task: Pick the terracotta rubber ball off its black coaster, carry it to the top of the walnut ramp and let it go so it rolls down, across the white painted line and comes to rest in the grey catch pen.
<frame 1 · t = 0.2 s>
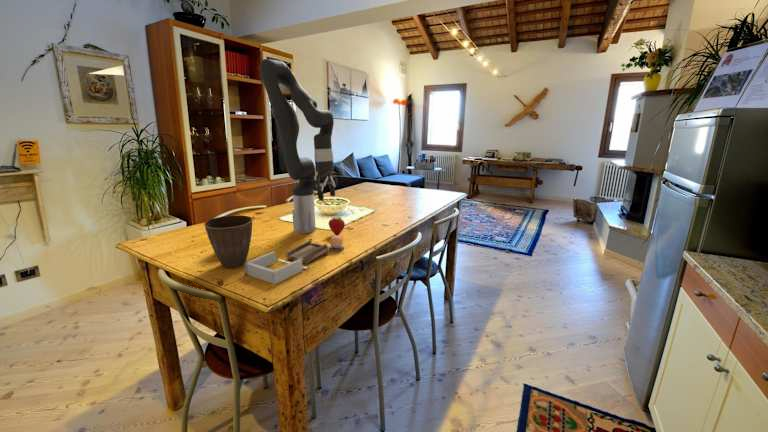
hand: (327, 198, 144), 17 cm above the table, tool pointing down, fingers open, 8 cm apart
strawberry: (337, 235, 150), on the table
walnut ramp: (307, 256, 126), on the table
rubber ball: (336, 241, 133), point 3 cm above the table, touching coaster
coaster: (336, 248, 134), on the table
catch pen: (274, 272, 113), on the table
painted line: (292, 263, 120), on the table
plant pot: (234, 265, 119), on the table
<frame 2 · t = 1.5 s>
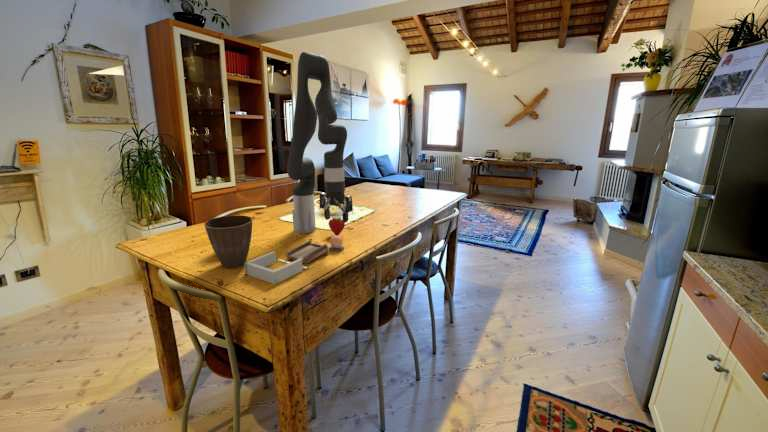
hand: (336, 220, 131), 12 cm above the table, tool pointing down, fingers open, 8 cm apart
nothing on the table moved.
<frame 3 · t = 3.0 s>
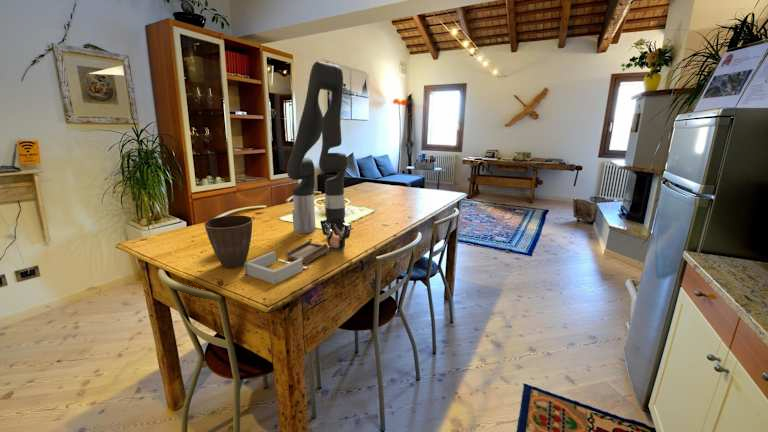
hand: (336, 246, 134), 1 cm above the table, tool pointing down, fingers closed on rubber ball, 5 cm apart
rubber ball: (336, 241, 133), point 3 cm above the table, touching coaster, gripper
everything else where it was.
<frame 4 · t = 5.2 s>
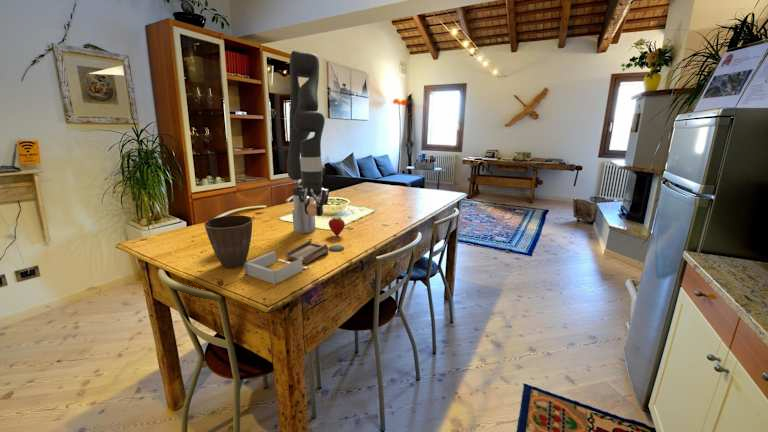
hand: (313, 214, 126), 15 cm above the table, tool pointing down, fingers closed on rubber ball, 5 cm apart
rubber ball: (313, 209, 125), point 17 cm above the table, touching gripper
everything else where it was.
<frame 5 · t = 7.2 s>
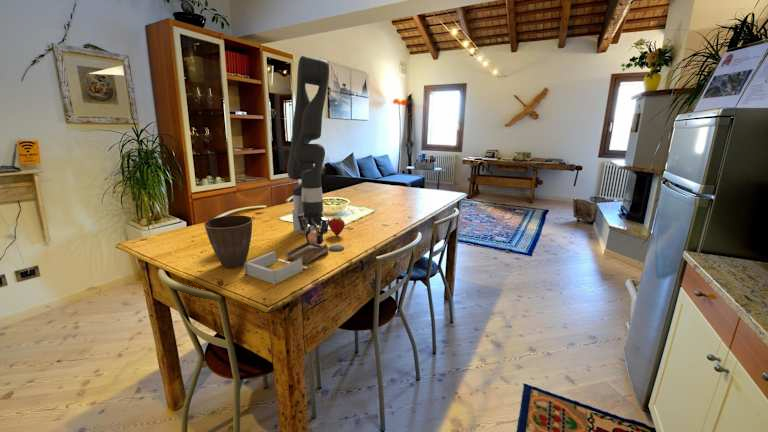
hand: (314, 242, 128), 4 cm above the table, tool pointing down, fingers closed on rubber ball, 4 cm apart
rubber ball: (314, 237, 128), point 6 cm above the table, touching gripper
everything else where it was.
when the fingers open (4 cm above the table, at t = 7.3 s): rubber ball drops 4 cm and tips over, point 2 cm above the table.
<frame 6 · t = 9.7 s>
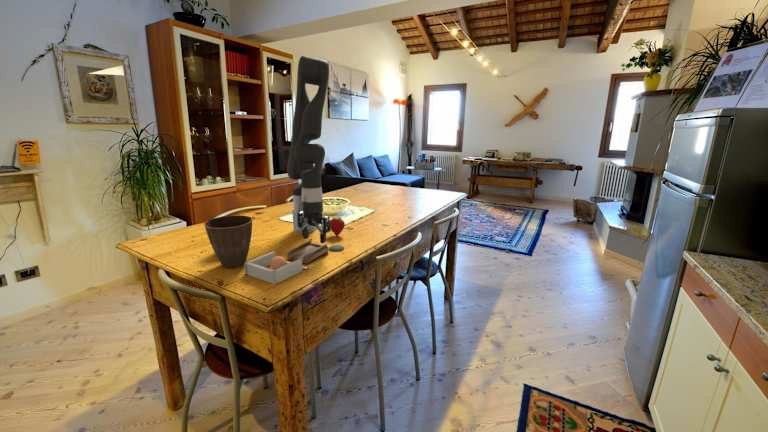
hand: (314, 240, 128), 5 cm above the table, tool pointing down, fingers open, 8 cm apart
rubber ball: (278, 263, 114), point 2 cm above the table, tilted 89°
everything else where it was.
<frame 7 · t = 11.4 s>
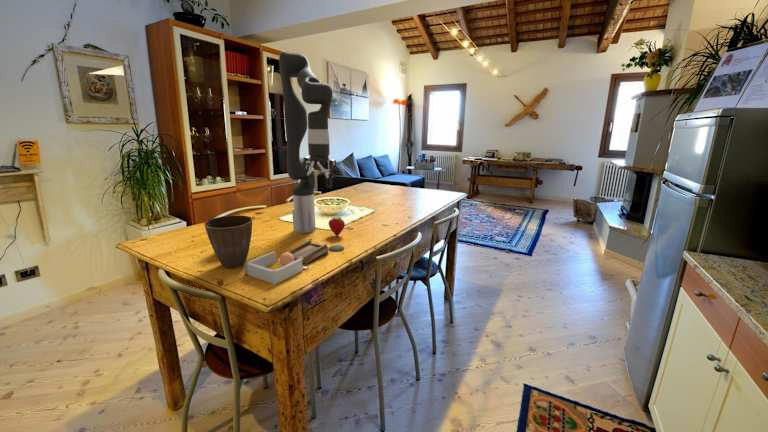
hand: (320, 186, 126), 25 cm above the table, tool pointing down, fingers open, 8 cm apart
rubber ball: (286, 259, 117), point 2 cm above the table
everything else where it was.
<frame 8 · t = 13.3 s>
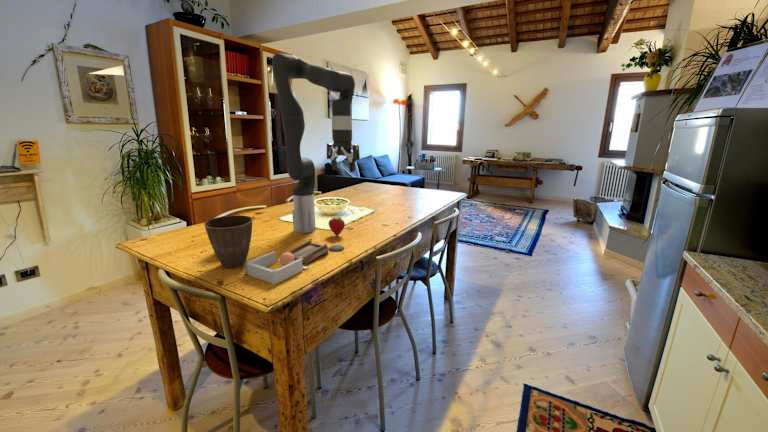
hand: (343, 171, 132), 30 cm above the table, tool pointing down, fingers open, 8 cm apart
nothing on the table moved.
at the end: rubber ball inside the target area (5.3 cm from its centre), point 2.5 cm above the table; the gripper is holding nothing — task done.
